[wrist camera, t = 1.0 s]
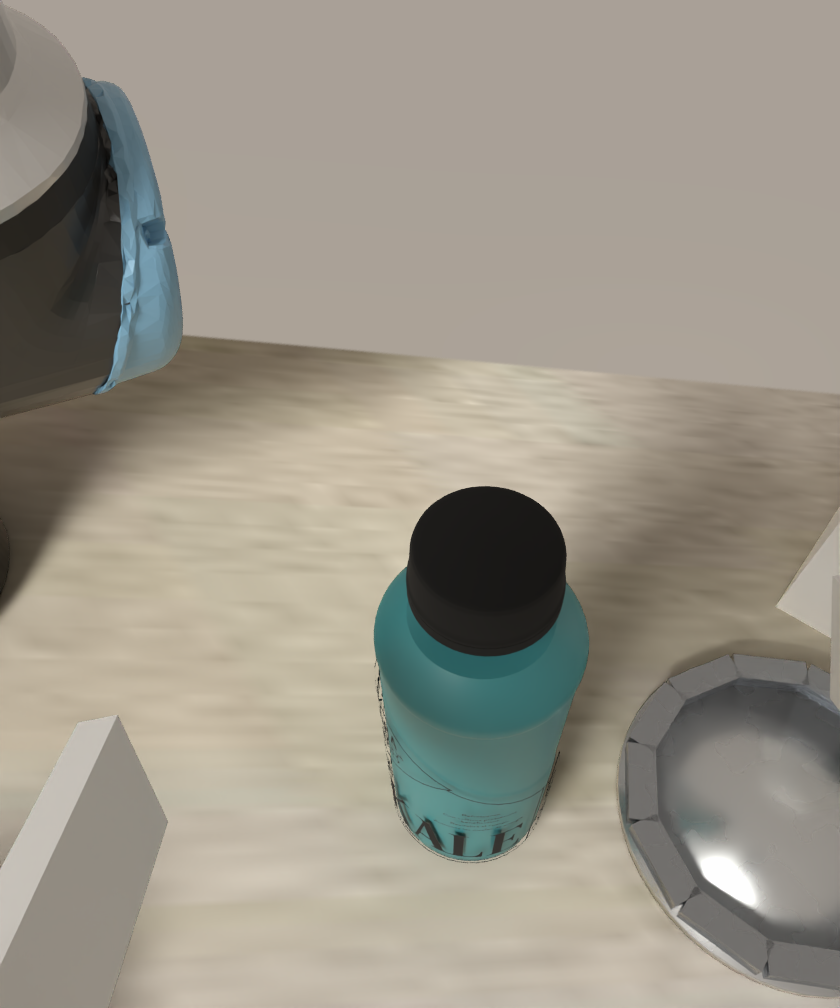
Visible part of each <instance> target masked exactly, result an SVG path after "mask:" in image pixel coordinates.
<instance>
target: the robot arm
mask: <svg viewBox="0 0 840 1008" xmlns="http://www.w3.org/2000/svg"><path fill="white" fill-rule="evenodd" d="M182 328H183V317H182V305H181V296H180V289H179V282H178V276H177V270H176V264H175V259H174V255H173V250H172V245H171V242H170V239H169V237H168V234H167V232H166V230H165V218H164V214H163V208H162V201H161V195H160V191H159V187H158V183H157V180H156V177H155V173H154V170H153V166H152V162H151V159H150V155H149V152H148V149H147V145H146V142H145V139H144V136H143V133H142V130H141V128H140V125H139V122H138V120H137V118H136V115H135V113H134V111H133V108H132V105H131V103H130V101H129V100H128V98H127V96H126V95H125V93H124V92H123V91H122V90H121V89H120V88H119V87H118V86H116V85H115V84H113V83H110V82H106V81H98V82H96V81H95V80H92V79H88V78H84V77H83V78H82V77H81V75H80V72H79V70H78V68H77V65H76V63H75V61H74V60H73V58H72V57H71V55H70V54H69V53H68V51H67V50H66V48H65V47H64V46H63V45H62V43H61V42H60V41H59V40H58V39H57V37H56V36H55V35H53V34H52V33H51V32H50V31H48V30H47V29H46V28H45V27H44V26H42V25H41V24H39V23H38V22H36V21H35V20H33V19H32V18H30V17H28V16H27V15H25V14H23V13H21V12H19V11H17V10H15V9H12V8H10V7H8V6H6V5H4V4H3V3H2V1H1V0H0V418H3V417H7V416H11V415H15V414H18V413H22V412H26V411H30V410H33V409H37V408H41V407H45V406H49V405H52V404H56V403H60V402H64V401H67V400H71V399H75V398H79V397H83V396H86V395H90V394H95V395H97V394H102V393H105V392H107V391H109V390H110V389H112V388H113V387H114V386H115V385H116V384H118V383H121V382H124V381H127V380H130V379H133V378H136V377H139V376H142V375H145V374H148V373H151V372H154V371H156V370H159V369H161V368H162V367H164V366H165V365H167V364H168V363H169V362H170V361H171V360H172V359H173V357H174V356H175V355H176V353H177V351H178V349H179V346H180V343H181V339H182V330H183V329H182ZM8 565H9V542H8V536H7V533H6V530H5V527H4V525H3V523H2V521H1V519H0V593H1V591H2V588H3V585H4V582H5V579H6V575H7V571H8ZM830 699H831V700H832V702H833V703H834V704H835V705H836V707H837V708H838V709H839V711H840V575H835V576H832V618H831V666H830ZM167 823H168V820H167V818H166V816H165V814H164V812H163V810H162V808H161V805H160V803H159V801H158V799H157V797H156V795H155V793H154V791H153V789H152V786H151V784H150V782H149V780H148V778H147V776H146V774H145V772H144V769H143V767H142V765H141V763H140V761H139V759H138V757H137V755H136V753H135V750H134V748H133V746H132V744H131V742H130V740H129V738H128V736H127V733H126V731H125V729H124V727H123V725H122V723H121V721H120V719H119V717H118V715H114V716H108V717H103V718H98V719H93V720H88V721H83V722H78V723H77V725H76V727H75V729H74V731H73V733H72V735H71V737H70V738H69V740H68V742H67V744H66V746H65V748H64V750H63V752H62V754H61V755H60V757H59V759H58V761H57V763H56V765H55V767H54V769H53V771H52V772H51V774H50V776H49V778H48V780H47V782H46V784H45V786H44V788H43V789H42V791H41V793H40V795H39V797H38V799H37V801H36V803H35V805H34V806H33V808H32V810H31V812H30V814H29V816H28V818H27V820H26V822H25V823H24V825H23V827H22V829H21V831H20V833H19V835H18V837H17V839H16V840H15V842H14V844H13V846H12V848H11V850H10V852H9V854H8V856H7V857H6V859H5V861H4V863H3V865H2V867H1V869H0V1008H108V1007H109V1004H110V1001H111V998H112V995H113V992H114V988H115V985H116V982H117V979H118V976H119V973H120V970H121V967H122V963H123V960H124V957H125V954H126V951H127V948H128V945H129V942H130V939H131V935H132V932H133V929H134V926H135V923H136V920H137V917H138V914H139V910H140V907H141V904H142V901H143V898H144V895H145V892H146V889H147V886H148V882H149V879H150V876H151V873H152V870H153V867H154V864H155V861H156V857H157V854H158V851H159V848H160V845H161V842H162V839H163V836H164V833H165V829H166V826H167Z"/></svg>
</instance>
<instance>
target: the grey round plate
mask: <svg viewBox="0 0 840 1008" xmlns="http://www.w3.org/2000/svg"><path fill="white" fill-rule="evenodd" d="M616 791H617V804H618V812H619V817H620V822H621V827H622V831H623V834H624V837H625V840H626V843H627V846H628V849H629V852H630V855H631V857H632V859H633V861H634V863H635V866H636V868H637V870H638V872H639V874H640V876H641V878H642V879H643V881H644V883H645V884H646V886H647V887H648V889H649V891H650V892H651V894H652V896H653V897H654V899H655V900H656V901H657V902H658V904H659V905H660V906H661V908H662V909H663V910H664V912H665V913H666V914H667V916H668V917H669V918H670V919H671V920H672V921H673V922H674V923H675V924H676V925H677V926H678V927H679V928H680V930H681V931H682V932H683V933H684V934H685V935H686V936H687V937H688V938H689V939H691V940H692V941H693V942H694V943H695V944H697V945H698V946H699V947H700V948H701V949H702V950H704V951H705V952H706V953H707V954H709V955H710V956H711V957H713V958H714V959H716V960H717V961H719V962H720V963H722V964H723V965H725V966H726V967H728V968H729V969H731V970H733V971H735V972H737V973H739V974H741V975H743V976H745V977H746V978H748V979H750V980H752V981H754V982H757V983H760V984H762V985H765V986H768V987H770V988H773V989H776V990H778V991H782V992H787V993H791V994H795V995H800V996H804V997H815V998H827V999H832V998H840V711H839V709H838V708H837V707H836V705H835V704H834V703H833V702H832V700H831V699H830V674H829V673H827V672H825V671H823V670H821V669H820V668H818V667H816V666H814V665H813V664H812V665H811V666H810V667H809V668H808V669H807V667H806V662H801V661H792V660H784V659H775V658H766V657H758V656H749V655H740V654H733V655H732V657H731V658H730V657H729V655H725V656H723V657H720V658H718V659H715V660H713V661H711V662H708V663H706V664H703V665H700V666H697V667H694V668H691V669H689V670H687V671H685V672H683V673H681V674H679V675H676V676H674V677H671V678H669V679H668V680H667V682H666V683H665V682H664V683H663V685H662V686H661V687H660V688H659V689H657V690H656V691H655V692H654V693H653V694H652V695H651V696H650V697H649V698H648V699H647V701H646V702H645V703H644V705H643V706H642V707H641V709H640V710H639V711H638V713H637V714H636V716H635V718H634V720H633V722H632V724H631V726H630V727H629V729H628V732H627V734H626V737H625V740H624V743H623V745H622V748H621V752H620V757H619V762H618V767H617V784H616Z"/></svg>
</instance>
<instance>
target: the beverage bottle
mask: <svg viewBox="0 0 840 1008" xmlns="http://www.w3.org/2000/svg"><path fill="white" fill-rule="evenodd" d="M566 557H567V555H566V546H565V541H564V538H563V535H562V532H561V530H560V528H559V526H558V524H557V522H556V521H555V520H554V518H553V517H552V515H551V514H550V513H549V512H548V511H547V510H546V509H545V508H544V507H542V506H541V505H540V504H539V503H537V502H536V501H534V500H533V499H531V498H529V497H527V496H525V495H523V494H521V493H518V492H516V491H513V490H509V489H505V488H500V487H490V486H479V487H470V488H465V489H461V490H458V491H455V492H453V493H450V494H448V495H446V496H444V497H442V498H441V499H439V500H437V501H436V502H435V503H434V504H432V505H431V506H430V507H429V508H428V509H427V510H426V511H425V512H424V513H423V515H422V516H421V517H420V519H419V521H418V523H417V524H416V527H415V529H414V531H413V534H412V537H411V542H410V553H409V560H408V565H407V567H405V568H404V569H403V570H402V571H401V572H400V573H399V574H398V575H397V577H396V578H395V579H394V580H393V581H392V583H391V584H390V585H389V587H388V589H387V590H386V592H385V594H384V596H383V598H382V600H381V603H380V605H379V607H378V611H377V615H376V618H375V626H374V646H375V653H376V660H377V662H378V666H379V675H380V680H381V687H382V694H383V695H382V696H383V702H384V708H383V710H382V711H383V713H384V709H385V715H384V716H386V718H385V719H386V723H387V728H386V727H385V731H383V732H384V733H383V735H384V736H385V734H386V732H387V733H388V736H387V737H388V738H387V740H389V742H388V741H387V740H386V739H384V740H385V741H387V745H388V744H389V746H390V747H389V746H388V747H389V748H390V753H391V756H390V757H391V764H392V767H393V771H392V770H390V771H391V775H392V772H393V774H394V782H395V786H394V784H393V781H392V779H391V782H392V789H393V795H394V799H393V800H394V801H395V802H394V803H395V804H396V805H395V806H397V802H396V799H397V801H398V805H399V808H400V812H401V814H402V816H403V818H404V821H405V823H406V824H407V825H408V827H409V828H410V830H411V831H412V832H413V833H414V834H415V835H414V836H415V837H416V838H417V839H418V840H420V841H421V842H422V843H424V844H425V845H426V847H428V848H430V849H431V850H434V851H435V852H436V853H439V854H441V855H444V856H446V857H449V858H453V859H457V860H465V861H479V860H485V859H489V858H492V857H495V856H500V854H504V852H508V850H509V849H513V848H512V847H513V846H515V845H516V844H517V843H518V842H519V841H520V840H521V839H522V838H523V837H524V836H525V835H526V833H527V832H528V830H529V831H530V828H531V826H532V824H533V822H534V821H535V818H537V816H536V815H537V812H538V809H539V806H540V803H541V800H542V797H543V794H544V791H545V788H546V785H547V782H548V779H549V776H550V773H551V770H552V766H553V763H554V759H555V753H556V749H557V746H558V743H559V740H560V737H561V734H562V730H563V727H564V724H565V721H566V718H567V715H568V712H569V709H570V706H571V703H572V700H573V697H574V694H575V691H576V689H577V687H578V686H579V684H580V682H581V680H582V677H583V674H584V671H585V668H586V664H587V659H588V653H589V635H588V627H587V623H586V619H585V615H584V613H583V610H582V607H581V605H580V603H579V601H578V599H577V597H576V596H575V594H574V592H573V591H572V589H571V588H570V586H569V585H568V584H567V583H566V575H565V569H566ZM375 665H376V663H375ZM375 681H376V680H375ZM378 686H379V677H378V684H377V687H376V688H377V693H378V694H379V691H378ZM378 697H379V696H378ZM378 700H379V701H382V699H379V698H378ZM381 704H382V702H381ZM381 704H380V705H381ZM380 707H381V706H380ZM381 708H382V707H381ZM381 714H382V713H381V710H380V715H381ZM381 718H382V719H383V717H381ZM382 722H383V721H382ZM383 725H384V726H385V722H384V723H383ZM384 726H383V727H384ZM383 727H382V728H383ZM386 730H387V731H386ZM386 735H387V734H386ZM384 738H385V737H384ZM385 743H386V742H385ZM385 745H386V744H385ZM386 748H387V747H386ZM387 751H388V750H387ZM388 753H389V752H388ZM559 753H560V751H559ZM386 755H387V754H386ZM389 755H390V754H389ZM559 755H560V754H558V756H559ZM387 758H388V757H387ZM557 759H558V757H557ZM556 762H557V760H556ZM388 764H389V766H388V768H389V769H391V768H390V761H389V762H388ZM555 765H556V764H555ZM554 768H555V767H554ZM553 771H554V770H553ZM391 775H390V776H391ZM552 775H553V773H552ZM551 779H552V776H551ZM551 779H550V781H551ZM552 781H553V780H552ZM548 783H549V784H550V782H548ZM551 784H552V782H551ZM394 787H395V789H396V795H395V789H394ZM548 787H551V786H548ZM549 789H550V788H549ZM547 790H548V789H547ZM548 792H549V791H548ZM546 793H547V792H546ZM396 796H397V797H396ZM546 796H547V795H545V797H546ZM543 800H544V799H543ZM545 801H546V800H545ZM544 804H545V803H544ZM542 805H543V804H542ZM395 808H396V807H395ZM542 808H543V807H542ZM541 810H543V809H541ZM541 810H540V811H541ZM397 811H399V810H397ZM399 818H401V817H399ZM538 818H540V817H539V816H538ZM401 819H402V818H401ZM401 819H400V820H401ZM401 822H402V821H401ZM403 823H404V822H403ZM403 825H404V824H403ZM534 825H535V824H534ZM408 827H407V828H408ZM532 828H533V827H532ZM406 830H407V829H406ZM410 830H409V831H410ZM407 831H408V830H407ZM412 832H411V833H412ZM413 833H412V834H413ZM528 834H529V832H528ZM528 834H527V837H526V839H527V838H528ZM411 836H412V835H411ZM412 837H413V836H412ZM413 838H414V837H413ZM414 839H415V838H414ZM526 839H525V840H526ZM415 840H416V839H415ZM416 841H417V840H416ZM417 842H418V841H417ZM418 843H419V842H418ZM419 844H420V843H419ZM520 845H521V844H520ZM520 845H519V846H520ZM422 846H423V845H422ZM516 846H517V845H516ZM423 847H424V846H423ZM427 850H428V849H427ZM514 850H515V849H514ZM512 851H513V850H512ZM430 852H431V851H430ZM432 853H433V852H432ZM509 853H510V852H509ZM434 854H435V853H434ZM506 855H507V854H506ZM437 856H439V855H437ZM440 857H441V856H440ZM501 857H502V856H501ZM442 858H444V857H442ZM499 858H500V857H499ZM445 859H446V858H445ZM496 859H498V858H496ZM448 860H449V859H448ZM493 860H494V859H493ZM452 861H453V860H452ZM490 861H491V860H490ZM456 862H458V861H456ZM484 862H487V861H484ZM463 863H466V862H463ZM478 863H481V862H478Z"/></svg>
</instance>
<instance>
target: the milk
mask: <svg viewBox="0 0 840 1008" xmlns="http://www.w3.org/2000/svg"><path fill="white" fill-rule="evenodd" d="M835 575H840V506H839V508H838V510H837V511H836V513H835V514H834V516H833V517H832V519H831V520H830V522H829V524H828V525H827V527H826V528H825V530H824V531H823V533H822V534H821V536H820V538H819V539H818V541H817V542H816V544H815V545H814V547H813V549H812V550H811V552H810V553H809V555H808V556H807V558H806V559H805V561H804V563H803V564H802V566H801V567H800V569H799V570H798V572H797V573H796V575H795V577H794V578H793V580H792V581H791V583H790V584H789V586H788V588H787V589H786V591H785V592H784V594H783V595H782V597H781V598H780V600H779V602H778V603H777V605H776V606H775V607H777V608H779V609H780V610H782V611H784V612H786V613H787V614H789V615H791V616H793V617H794V618H796V619H798V620H800V621H801V622H803V623H805V624H806V625H808V626H810V627H812V628H813V629H815V630H817V631H819V632H820V633H822V634H824V635H826V636H827V637H829V638H831V618H832V576H835Z"/></svg>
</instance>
